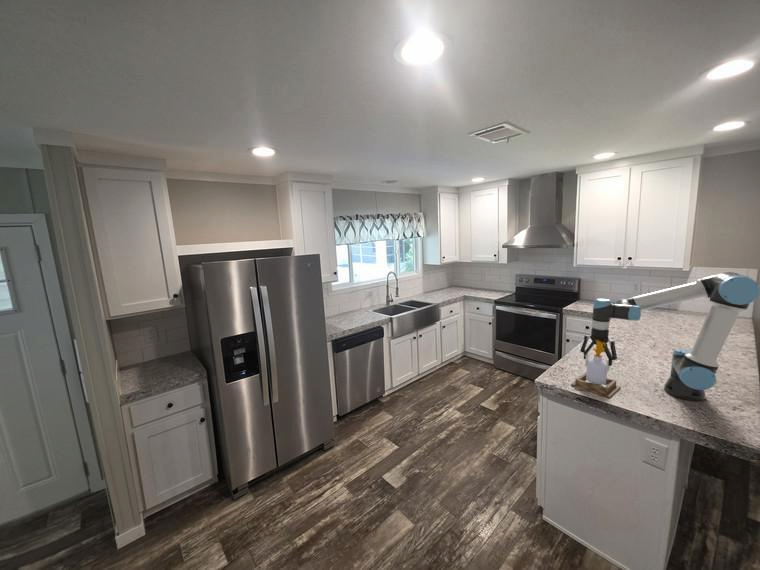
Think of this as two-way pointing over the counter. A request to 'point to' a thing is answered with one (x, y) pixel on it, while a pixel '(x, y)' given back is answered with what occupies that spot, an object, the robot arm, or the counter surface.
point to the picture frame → (597, 386)
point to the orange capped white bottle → (597, 366)
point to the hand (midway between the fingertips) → (596, 368)
